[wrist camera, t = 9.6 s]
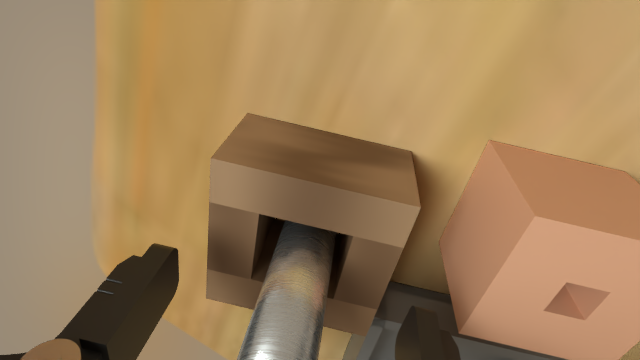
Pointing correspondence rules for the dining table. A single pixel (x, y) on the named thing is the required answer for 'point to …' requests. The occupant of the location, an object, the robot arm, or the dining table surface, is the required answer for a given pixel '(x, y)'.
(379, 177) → the go block
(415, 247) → the dining table surface
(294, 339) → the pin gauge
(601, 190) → the block
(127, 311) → the robot arm
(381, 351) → the tray
